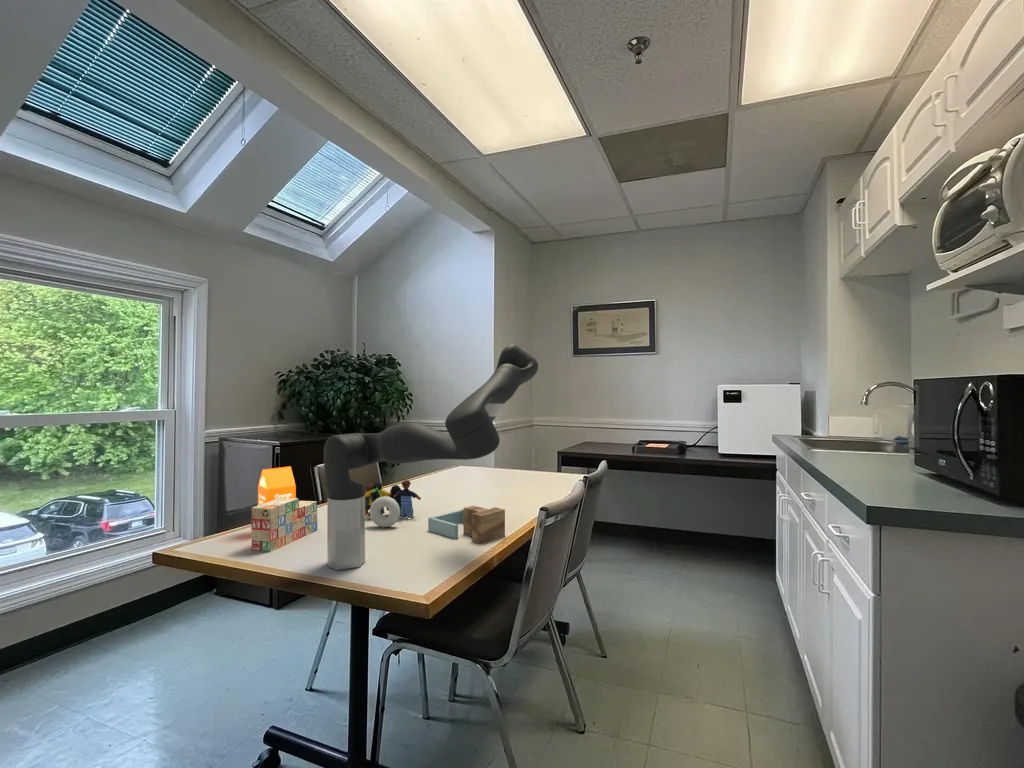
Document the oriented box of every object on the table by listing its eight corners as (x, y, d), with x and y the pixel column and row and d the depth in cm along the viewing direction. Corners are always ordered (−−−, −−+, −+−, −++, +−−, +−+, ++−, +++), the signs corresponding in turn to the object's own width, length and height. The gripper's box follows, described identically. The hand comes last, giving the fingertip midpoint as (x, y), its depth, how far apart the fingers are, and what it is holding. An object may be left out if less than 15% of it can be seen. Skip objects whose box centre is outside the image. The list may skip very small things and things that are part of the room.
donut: (401, 526, 159) (401, 495, 159) (398, 529, 156) (398, 497, 156) (372, 525, 161) (372, 494, 161) (368, 528, 157) (367, 497, 157)
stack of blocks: (300, 529, 157) (300, 490, 157) (317, 530, 155) (317, 491, 155) (251, 551, 136) (251, 506, 136) (270, 552, 135) (270, 508, 135)
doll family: (424, 513, 176) (424, 476, 176) (420, 520, 167) (420, 481, 167) (359, 513, 175) (359, 476, 175) (352, 520, 166) (351, 481, 166)
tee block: (505, 535, 149) (504, 509, 149) (481, 543, 142) (481, 516, 142) (479, 528, 156) (479, 503, 156) (456, 536, 149) (456, 509, 149)
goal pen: (489, 528, 157) (489, 516, 157) (455, 538, 146) (455, 525, 146) (462, 521, 165) (462, 509, 165) (428, 530, 154) (428, 517, 154)
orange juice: (296, 531, 154) (296, 467, 155) (266, 537, 148) (266, 471, 148) (286, 526, 160) (286, 464, 160) (257, 531, 154) (257, 468, 154)
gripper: (476, 417, 130) (447, 458, 138) (510, 414, 140) (480, 453, 148) (463, 397, 133) (435, 438, 142) (496, 395, 143) (468, 435, 151)
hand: (458, 446), depth 145 cm, fingers closed
